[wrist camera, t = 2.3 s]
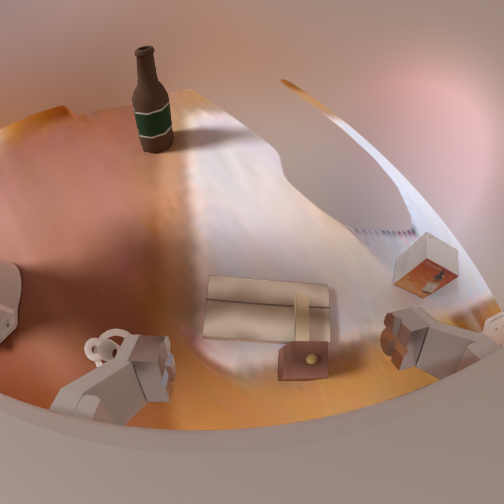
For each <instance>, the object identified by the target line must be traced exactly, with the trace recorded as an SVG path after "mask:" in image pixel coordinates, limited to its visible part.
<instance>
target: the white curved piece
mask: <svg viewBox="0 0 504 504" xmlns="http://www.w3.org/2000/svg"><path fill="white" fill-rule="evenodd" d="M126 335H132V334H130V333H129V332H127V331H125V330H122V329H110V330H108V331H106V332H104V333H103V334H102V335H101V336H100V337H99V338H90V339H89V340H88V341H87V342H86V344H85V347H84V350H85V354H86V356H87V357H88V358H89V359H90V360H92V361H94V362H95V364H96V366H97V367H99V366H101V365H102V362H101V360H104V361H107V362H108V361H109V360H114V358H113V356H112V352H113V350H114V349H117V352H118V350H119V348H120V346H119V345H118V344H117V343H115V342H114V341H112V340H110V339H107V338H109V337H111V336H121V337H124V338H125V337H126ZM93 346H95V347H94V353H93V351H92V347H93Z"/></svg>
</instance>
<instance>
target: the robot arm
mask: <svg viewBox="0 0 504 504" xmlns="http://www.w3.org/2000/svg"><path fill="white" fill-rule="evenodd" d="M20 296H21V276H20V272H19V270H18V268H17V266H16V265H15V264H14V263H12V262H10V261H6V260H4V259H2V258H0V343H1V342H2V341H3V340H4V339H5V338H6V337H7V336H8V335H9V334H10V333H11V332H12V331H14V330H15V329H16V327H17V324H18V312H17V310H18V305H19V301H20ZM384 324H385V326H386V328H385V329H384V330H383V332H382V334H381V339H380V341H381V347H382V350H383V351H384V353H385V354H386V355H388V356H391V357H392V358H391V361H392V363H393V364H394V365H395V366H396V368H397V369H398V370H399V371H400V370H404V369H407V368H410V367H414V366H416V367H417V368H419V369H421V370H423V371H425V372H427V373H428V374H430V375H432V376H434V377H436V378H438V379H440V380H439V381H437V382H435V383H432V384H430V385H428V386H425V387H423V388H420V389H418V390H415V391H412V392H410V393H407V394H404V395H402V396H399V397H396V398H393V399H390V400H387V401H384V402H381V403H377V404H374V405H371V406H367V407H364V408H360V409H357V410H353V411H349V412H345V413H341V414H337V415H332V416H328V417H323V418H318V419H313V420H308V421H302V422H296V423H290V424H283V425H275V426H267V427H258V428H246V429H231V430H167V429H152V428H141V427H132V426H124V425H125V424H126V423H127V422H128V421H129V420H130V419H131V418H132V417H133V416H134V415H135V414H136V413H137V412H138V411H139V410H140V409H141V408H142V407H143V406H144V405H145V404H146V403H147V402H170V400H171V395H172V390H173V388H172V385H171V382H173V381H174V379H175V361H174V356H173V355H172V354H171V353H170V352H169V351H170V347H171V344H170V340H169V337H168V336H167V335H126V337H125V339H124V341H123V343H122V344H121V346H120V348H119V350H118V352H117V354H116V356H115V358H114V360H109V361H108V362H106V363H104V364H102V365H101V366H99V367H97V368H96V369H94V370H92V371H91V372H89V373H87V374H85V375H84V376H82V377H80V378H79V379H77V380H75V381H73V382H72V383H70V384H68V385H67V386H65V387H63V388H61V389H60V391H59V393H58V395H57V396H56V398H55V400H54V401H53V403H52V405H51V407H50V408H49V410H47V409H44V408H41V407H37V406H34V405H31V404H28V403H25V402H22V401H20V400H17V399H14V398H12V397H9V396H6V395H4V394H2V393H0V504H504V346H503V347H501V346H500V345H499V344H497V343H496V342H495V341H494V340H492V339H491V338H490V337H489V336H487V335H484V334H481V333H477V332H473V331H470V330H466V329H463V328H459V327H456V326H452V325H449V324H445V323H439V322H438V321H437V320H435V319H434V318H433V317H432V316H430V315H429V314H428V313H427V312H425V311H424V310H423V309H421V308H420V307H417V306H416V307H412V308H409V309H405V310H401V311H397V312H392V313H388V314H387V315H386V317H385V320H384ZM146 401H147V402H146Z"/></svg>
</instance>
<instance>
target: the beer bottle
mask: <svg viewBox="0 0 504 504" xmlns="http://www.w3.org/2000/svg"><path fill="white" fill-rule="evenodd" d="M153 52H154V48H153V47H152V46H143V47H140V48H138V49H136V50H135V56H137V74H138V84H137V87H136V89H135V90H134V93H133V97H132V102H133V109H134V114H135V119H136V124H137V128H138V133H139V138H140V141H141V144H142V147H143V150H144V151H145V152H150V153H158V152H161V151H164V150H167V149H168V147H169V146H170V145H171V144H172V142H173V131H172V122H171V113H170V103H169V97H168V94H167V92H166V90H165V88H164V87H163V85H162V84H161V83H160V82H159V81H158V78H157V74H156V68H155V63H154V57H153Z"/></svg>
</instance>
